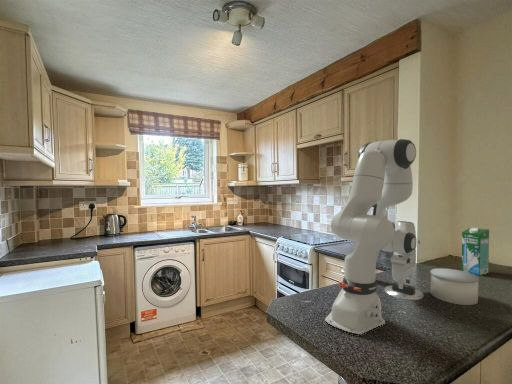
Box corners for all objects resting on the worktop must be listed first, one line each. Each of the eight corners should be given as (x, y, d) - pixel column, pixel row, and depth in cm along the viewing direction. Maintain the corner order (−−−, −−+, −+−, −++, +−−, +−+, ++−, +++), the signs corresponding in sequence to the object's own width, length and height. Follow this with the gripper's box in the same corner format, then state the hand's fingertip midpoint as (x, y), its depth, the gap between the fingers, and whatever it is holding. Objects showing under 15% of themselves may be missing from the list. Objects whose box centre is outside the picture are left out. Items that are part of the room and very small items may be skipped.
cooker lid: (417, 304, 115) (417, 295, 115) (378, 293, 127) (378, 285, 126) (428, 293, 126) (428, 285, 126) (391, 284, 138) (391, 276, 138)
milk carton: (461, 271, 158) (462, 228, 157) (470, 269, 162) (471, 227, 161) (479, 275, 150) (480, 230, 149) (488, 273, 153) (489, 229, 153)
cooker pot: (475, 309, 109) (475, 284, 109) (425, 296, 122) (425, 274, 122) (481, 296, 121) (482, 274, 121) (435, 286, 134) (435, 266, 134)
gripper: (405, 250, 135) (405, 278, 136) (389, 259, 121) (389, 289, 122) (419, 252, 131) (419, 281, 131) (404, 261, 117) (404, 293, 117)
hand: (404, 285), depth 126 cm, fingers open, 8 cm apart
